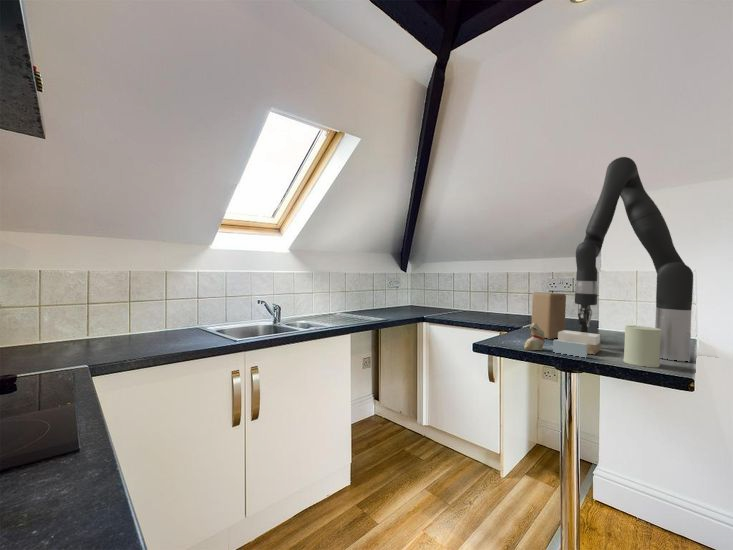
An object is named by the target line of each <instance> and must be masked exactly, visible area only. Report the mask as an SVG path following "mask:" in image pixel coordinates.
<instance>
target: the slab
mask: <svg viewBox="0 0 733 550" xmlns="http://www.w3.org/2000/svg"><path fill="white" fill-rule="evenodd" d="M557 340H562V341H569V342H576V343H583V344H588V345H597V344H598V343H601V334H599V333H591V332H588V333H584V332H581V331H574V330H566V329H565V330H563V331H560V332H558V339H557Z"/></svg>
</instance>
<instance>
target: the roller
mask: <svg viewBox="0 0 733 550" xmlns="http://www.w3.org/2000/svg"><path fill="white" fill-rule="evenodd" d="M595 350H596V348H595V346H593V345H588V348H587V355H591V354H593V356H595V354H596V353H595Z"/></svg>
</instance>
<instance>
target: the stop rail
mask: <svg viewBox="0 0 733 550" xmlns="http://www.w3.org/2000/svg"><path fill="white" fill-rule="evenodd" d="M552 340H553V342H552V353H553V352H555V353H554V354H556V353H561V354H560V355H563V354H567V355H566V356H569V355H573V356H572V357H575V356H579V357H578V358H581V357H585V358H584V359H587V358H588V354H587V348H588V344H583V343H576V342H569V341H562V340H558V339H552ZM586 357H587V358H586Z"/></svg>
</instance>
